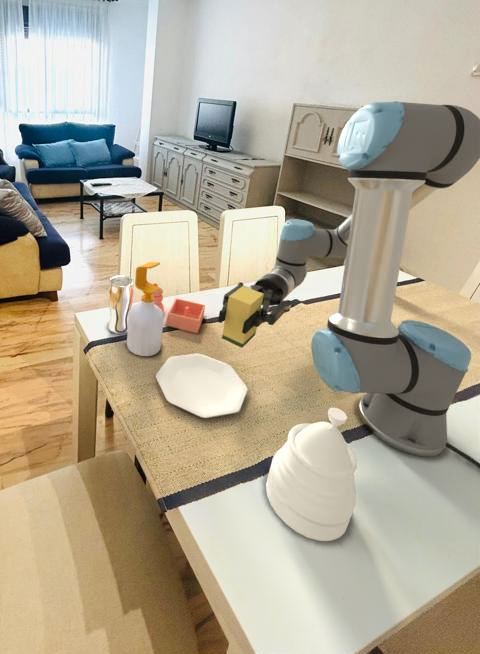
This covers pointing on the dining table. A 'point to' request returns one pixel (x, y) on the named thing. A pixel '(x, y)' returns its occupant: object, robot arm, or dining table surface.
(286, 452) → the honey pot
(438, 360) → the robot arm
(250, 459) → the dining table surface
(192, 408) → the plate
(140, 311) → the soap bottle
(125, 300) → the beer glass
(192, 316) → the pink open box
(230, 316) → the sponge
